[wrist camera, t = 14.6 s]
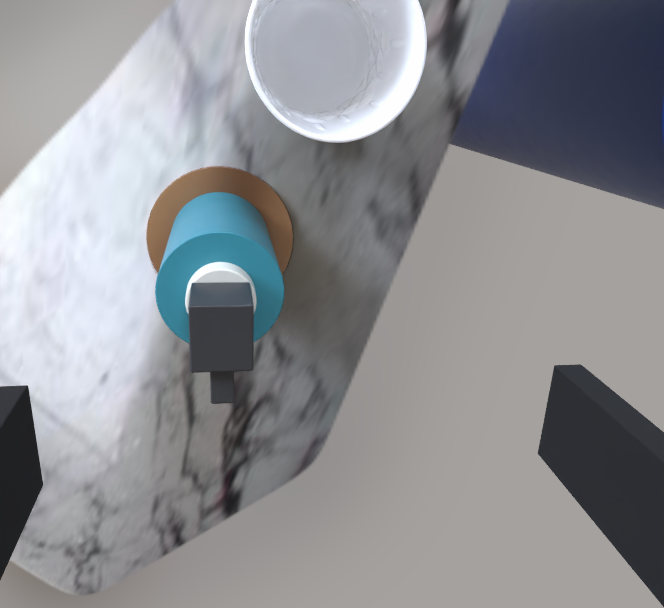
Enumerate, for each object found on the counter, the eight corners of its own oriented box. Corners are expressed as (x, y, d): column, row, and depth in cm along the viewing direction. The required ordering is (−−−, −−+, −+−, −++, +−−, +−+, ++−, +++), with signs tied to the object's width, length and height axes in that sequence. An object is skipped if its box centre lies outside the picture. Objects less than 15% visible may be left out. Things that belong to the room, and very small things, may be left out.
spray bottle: (168, 190, 36) (140, 257, 23) (269, 192, 37) (296, 257, 24) (173, 297, 38) (150, 413, 25) (267, 296, 39) (292, 406, 26)
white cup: (261, -46, 33) (277, -93, 23) (392, 10, 35) (454, -14, 26) (221, 99, 35) (222, 109, 26) (347, 143, 37) (389, 166, 28)
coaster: (294, 168, 37) (295, 168, 37) (290, 305, 40) (291, 306, 40) (142, 164, 35) (142, 164, 35) (150, 306, 39) (150, 307, 38)
